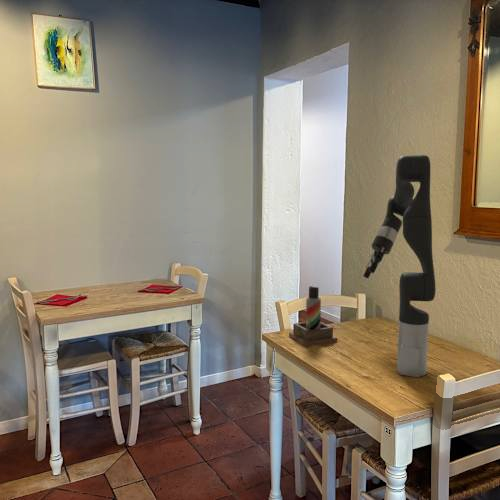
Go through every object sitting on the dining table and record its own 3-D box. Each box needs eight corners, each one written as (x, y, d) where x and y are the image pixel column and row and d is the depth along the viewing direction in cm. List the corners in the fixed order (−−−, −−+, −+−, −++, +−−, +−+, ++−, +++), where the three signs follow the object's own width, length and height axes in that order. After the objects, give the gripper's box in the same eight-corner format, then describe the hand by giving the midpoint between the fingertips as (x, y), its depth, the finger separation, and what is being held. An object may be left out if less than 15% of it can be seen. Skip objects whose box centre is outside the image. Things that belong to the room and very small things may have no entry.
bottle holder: (337, 341, 191) (337, 328, 190) (306, 346, 185) (306, 332, 184) (318, 331, 203) (318, 319, 203) (289, 336, 198) (289, 323, 197)
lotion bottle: (303, 335, 194) (303, 286, 191) (311, 332, 198) (312, 284, 195) (314, 338, 190) (315, 288, 187) (323, 335, 194) (323, 286, 191)
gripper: (371, 241, 201) (355, 274, 196) (380, 229, 187) (363, 265, 183) (388, 249, 200) (372, 283, 195) (398, 238, 186) (382, 274, 182)
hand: (368, 274), depth 189 cm, fingers open, 8 cm apart
